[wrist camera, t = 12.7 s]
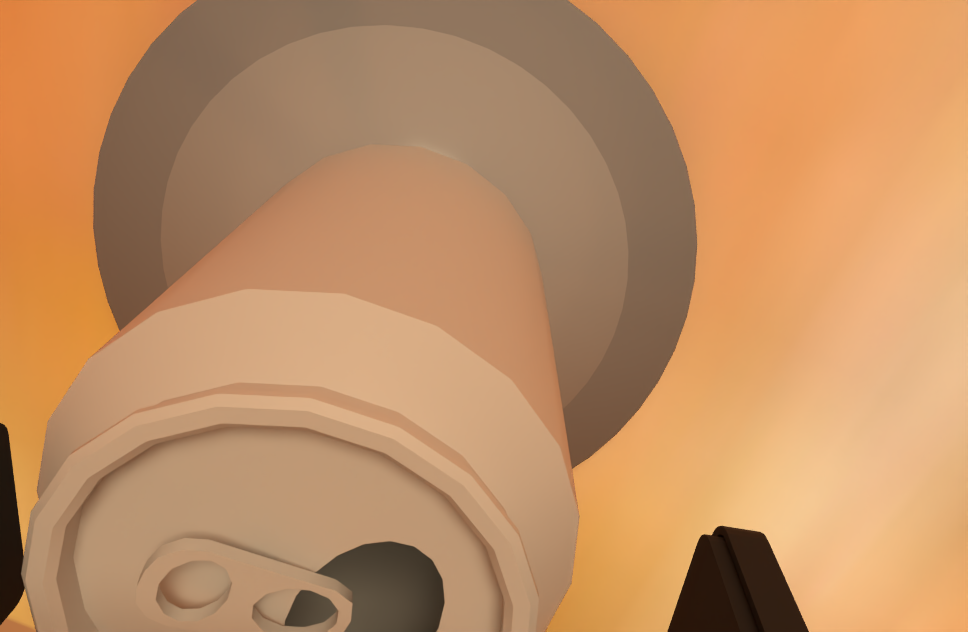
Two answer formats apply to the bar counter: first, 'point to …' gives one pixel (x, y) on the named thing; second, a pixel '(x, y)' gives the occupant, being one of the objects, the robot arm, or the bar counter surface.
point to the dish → (423, 123)
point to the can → (321, 426)
